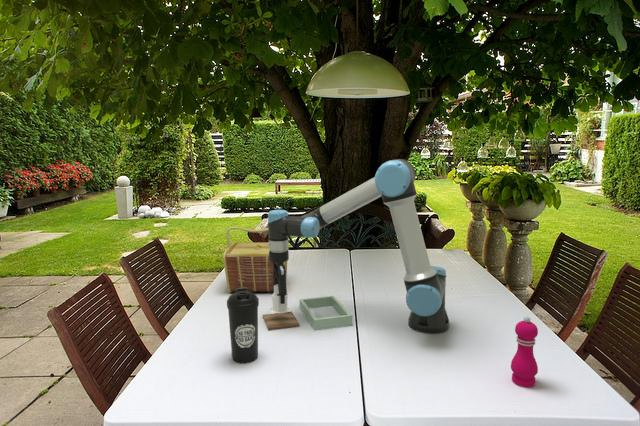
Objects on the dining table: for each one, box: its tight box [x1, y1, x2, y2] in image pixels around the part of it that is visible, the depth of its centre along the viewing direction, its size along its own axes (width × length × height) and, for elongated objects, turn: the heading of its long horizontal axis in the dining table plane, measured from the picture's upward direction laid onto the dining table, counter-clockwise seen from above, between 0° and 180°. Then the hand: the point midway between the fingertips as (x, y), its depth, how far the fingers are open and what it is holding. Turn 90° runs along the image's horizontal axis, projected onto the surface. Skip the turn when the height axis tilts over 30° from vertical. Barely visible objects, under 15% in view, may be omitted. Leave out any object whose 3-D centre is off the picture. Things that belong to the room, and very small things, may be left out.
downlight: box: [270, 284, 290, 314], centre depth 181 cm, size 8×7×10 cm
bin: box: [299, 295, 353, 331], centre depth 187 cm, size 24×15×4 cm, turn 16°
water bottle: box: [226, 287, 260, 364], centre depth 152 cm, size 10×10×23 cm
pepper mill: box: [510, 316, 539, 388], centre depth 134 cm, size 7×7×20 cm
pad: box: [262, 311, 301, 331], centre depth 183 cm, size 14×12×1 cm
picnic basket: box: [222, 226, 288, 294], centre depth 222 cm, size 29×26×30 cm
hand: (280, 307), depth 182 cm, fingers closed on downlight, 8 cm apart
